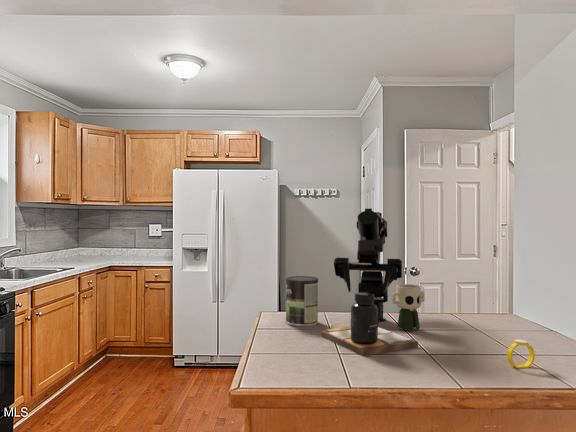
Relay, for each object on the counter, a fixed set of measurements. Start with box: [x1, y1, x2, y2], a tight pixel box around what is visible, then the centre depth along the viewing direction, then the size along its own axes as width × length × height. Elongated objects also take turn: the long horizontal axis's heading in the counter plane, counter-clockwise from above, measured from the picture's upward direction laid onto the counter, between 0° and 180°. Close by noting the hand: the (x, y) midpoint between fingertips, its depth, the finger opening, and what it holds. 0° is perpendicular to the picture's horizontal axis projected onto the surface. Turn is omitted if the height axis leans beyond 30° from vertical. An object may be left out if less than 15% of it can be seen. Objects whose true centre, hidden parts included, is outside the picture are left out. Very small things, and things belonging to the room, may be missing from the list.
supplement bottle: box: [350, 292, 379, 344], centre depth 115 cm, size 7×7×12 cm
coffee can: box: [285, 275, 319, 327], centre depth 143 cm, size 10×10×14 cm
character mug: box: [391, 283, 425, 331], centre depth 134 cm, size 11×7×13 cm, turn 109°
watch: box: [506, 338, 536, 369], centre depth 100 cm, size 6×3×6 cm, turn 101°
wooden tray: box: [320, 325, 419, 357], centre depth 121 cm, size 17×20×2 cm
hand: (366, 291), depth 122 cm, fingers open, 9 cm apart
